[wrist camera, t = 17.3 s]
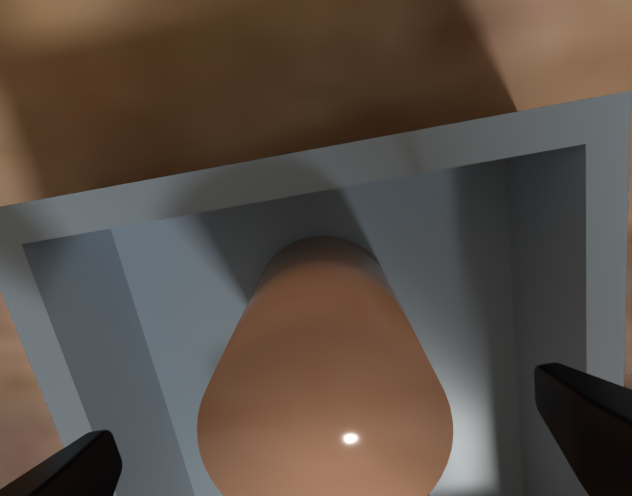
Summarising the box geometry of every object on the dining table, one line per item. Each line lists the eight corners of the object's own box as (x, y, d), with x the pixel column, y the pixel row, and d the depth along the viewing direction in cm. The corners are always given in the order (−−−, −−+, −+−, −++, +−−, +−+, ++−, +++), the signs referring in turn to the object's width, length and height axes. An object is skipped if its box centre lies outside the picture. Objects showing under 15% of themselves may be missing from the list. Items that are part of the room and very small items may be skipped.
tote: (537, 545, 18) (616, 687, 13) (215, 585, 19) (179, 731, 14) (518, 112, 13) (630, 90, 9) (87, 191, 14) (-32, 212, 9)
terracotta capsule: (398, 350, 15) (463, 522, 8) (271, 369, 15) (230, 551, 8) (380, 224, 13) (440, 300, 7) (242, 248, 14) (166, 344, 7)
